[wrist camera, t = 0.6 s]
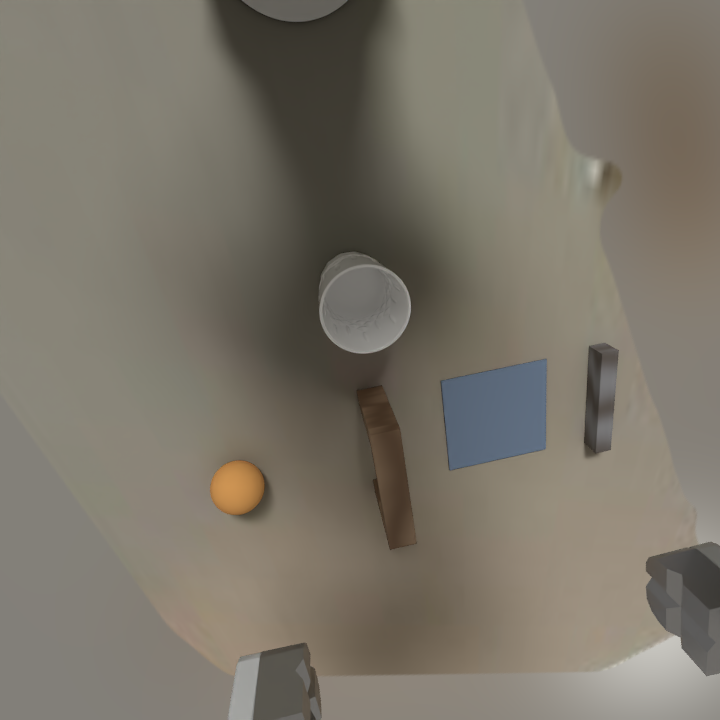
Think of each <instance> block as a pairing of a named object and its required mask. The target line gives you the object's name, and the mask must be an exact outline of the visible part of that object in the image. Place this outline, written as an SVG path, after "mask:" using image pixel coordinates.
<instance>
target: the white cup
mask: <svg viewBox="0 0 720 720" xmlns="http://www.w3.org/2000/svg"><path fill="white" fill-rule="evenodd" d="M410 313H411V301H410V296H409V293H408V290H407V288H406V286H405V284H404V283H403V281H402V280H401V279H400V278H399V277H398V276H397V275H396V274H395V273H393V272H392V271H391V270H389V269H388V268H387V267H385V266H384V265H383V264H381V263H380V262H378V261H377V260H375V259H373V258H371V257H370V256H368V255H365V254H362V253H359V252H355V251H353V252H347V253H341V254H339V255H337V256H336V257H334V258H333V259H332V260H330V261H329V262H328V263H327V264H326V266H325V268H324V270H323V272H322V273H321V276H320V285H319V315H320V321H321V325H322V327H323V329H324V331H325V333H326V335H327V336H328V337H329V339H330V340H331V341H332V342H333V343H334V344H336V345H337V346H339V347H340V348H342V349H344V350H346V351H349V352H353V353H359V354H367V353H374V352H377V351H380V350H383V349H385V348H387V347H388V346H390V345H391V344H393V343H394V342H395V341H396V340H397V339H398V338H399V337H400V336H401V335H402V333H403V332H404V330H405V328H406V326H407V324H408V321H409V318H410Z"/></svg>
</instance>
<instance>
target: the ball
mask: <svg viewBox="0 0 720 720" xmlns="http://www.w3.org/2000/svg"><path fill="white" fill-rule="evenodd" d="M264 488H265V484H264V478H263V475H262V473H261V472H260V470H259V469H258V468H257V467H256V466H255V465H253V464H252V463H249V462H247V461H241V460H238V461H232V462H229V463H227V464H225V465H223V466H222V467H221V468H220V469H219V470H218V471H217V472H216V473H215V475H214V476H213V479H212V481H211V486H210V493H211V498H212V500H213V502H214V504H215V505H216V507H217V508H219V509H220V510H221V511H222V512H224V513H227V514H231V515H241V514H245V513H247V512H249V511H251V510H252V509H254V508H255V507H256V506H257V505H258V503H259V502H260V500H261V499H262V496H263V494H264Z"/></svg>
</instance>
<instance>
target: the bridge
mask: <svg viewBox="0 0 720 720" xmlns="http://www.w3.org/2000/svg"><path fill="white" fill-rule="evenodd" d="M357 395H358V401H359V406H360V410H361V413H362V416H363V420H364V423H365V427H366V430H367V434H368V437H369V441H370V444H371V449H372V455H373V460H374V466H375V471H376V477H377V479H375V480H373V483H374V488H375V493H376V497H377V501H378V505H379V509H380V513H381V517H382V520H383V524H384V528H385V532H386V536H387V540H388V544H389V547H390V550H391V549H395V548H399V547H404V546H408V545H412V544H417V543H416V536H415V529H414V522H413V515H412V508H411V501H410V494H409V487H408V480H407V473H406V466H405V459H404V452H403V446H402V439H401V432H400V428H399V425H398V423H397V420H396V418H395V416H394V413H393V411H392V408H391V406H390V404H389V401H388V399H387V396H386V394H385V392H384V389H383V387H382V385H381V386H377V387H372V388H367V389H362V390H357Z"/></svg>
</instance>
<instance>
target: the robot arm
mask: <svg viewBox="0 0 720 720" xmlns="http://www.w3.org/2000/svg"><path fill="white" fill-rule="evenodd" d="M242 1H243V2H244V3H246V4H247V5H248V6H250V7H251V8H253V9H254V10H256V11H258V12H260V13H262V14H264V15H266V16H269V17H271V18H275V19H278V20H282V21H289V22H304V21H310V20H315V19H318V18H321V17H324V16H326V15H328V14H330V13H332V12H333V11H335V10H337V9H338V8H339V7H341V6H342V5H343V4H344V3H346V2H347V1H348V0H242ZM646 572H647V573H648V574H649V575H650V576H651V577H652V578H651V580H650V581H649V583H648V584H647V586H646V593H647V600H648V603H649V605H650V608H651V610H652V612H653V614H654V615H655V617H656V618H657V620H658V621H659V622H660V624H661V625H662V626H663V627H664V628H665V630H666V631H668V632H670V633H672V634H675V635H677V636H679V637H681V645H682V649H683V650H684V651H685V652H686V653H687V655H689V657H690V658H691V659H692V660H693V661H694V662H695V664H696V665H697V666H698V667H699V668H700V669H701V670H702V671H703V673H704V674H705V675H706V676H709V675H714V674H718V673H720V546H719V545H718V544H716V543H713V542H708V543H704V544H700V545H696V546H692V547H689V548H683V549H679V550H675V551H672V552H668V553H664V554H660V555H656V556H652V557H649V558H648V560H647V562H646ZM228 720H321V698H320V689H319V684H318V679H317V675H316V671H315V668H313V667H311V666H310V652H309V649H308V646H307V643H300V644H296V645H291V646H286V647H282V648H277V649H272V650H268V651H263V652H260V653H256V654H251V655H247V656H242V657H240V659H239V661H238V663H237V666H236V672H235V678H234V684H233V690H232V696H231V702H230V708H229V713H228Z"/></svg>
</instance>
